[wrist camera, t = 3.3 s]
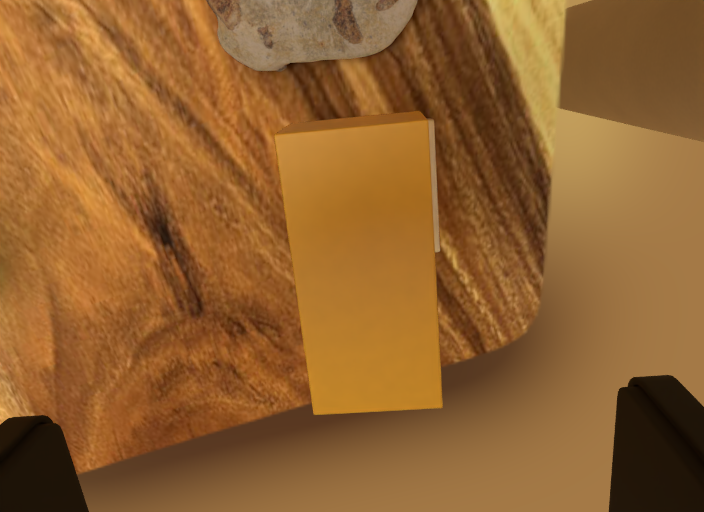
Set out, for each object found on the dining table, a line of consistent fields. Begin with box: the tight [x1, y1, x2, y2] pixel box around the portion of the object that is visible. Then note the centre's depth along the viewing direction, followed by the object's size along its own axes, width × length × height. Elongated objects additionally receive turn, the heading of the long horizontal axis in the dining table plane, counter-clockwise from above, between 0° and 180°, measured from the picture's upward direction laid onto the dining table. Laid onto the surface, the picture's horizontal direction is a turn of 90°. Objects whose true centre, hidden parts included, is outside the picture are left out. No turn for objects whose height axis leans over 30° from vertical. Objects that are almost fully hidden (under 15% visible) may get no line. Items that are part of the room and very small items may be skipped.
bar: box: [274, 111, 443, 415], centre depth 18 cm, size 4×10×3 cm, turn 5°
